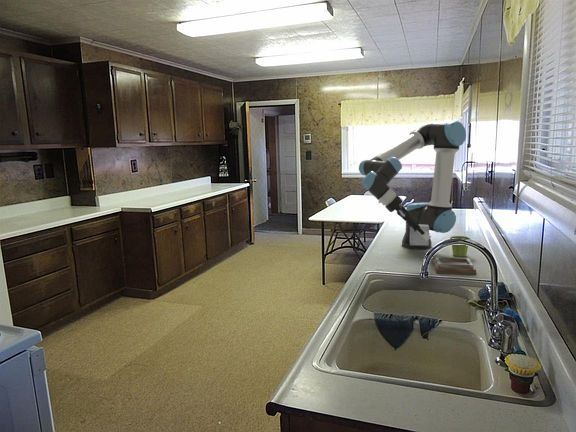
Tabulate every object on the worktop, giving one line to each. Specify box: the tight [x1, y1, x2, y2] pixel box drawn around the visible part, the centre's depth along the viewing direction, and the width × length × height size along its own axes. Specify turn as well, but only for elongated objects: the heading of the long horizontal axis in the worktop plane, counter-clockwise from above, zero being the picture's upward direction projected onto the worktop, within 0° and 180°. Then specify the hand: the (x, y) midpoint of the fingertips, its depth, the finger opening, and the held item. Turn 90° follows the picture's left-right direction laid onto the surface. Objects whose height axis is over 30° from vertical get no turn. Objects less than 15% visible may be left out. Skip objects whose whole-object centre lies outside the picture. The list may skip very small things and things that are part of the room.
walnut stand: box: [432, 256, 477, 275], centre depth 188 cm, size 14×16×4 cm
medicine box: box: [410, 225, 430, 245], centre depth 188 cm, size 8×4×9 cm, turn 78°
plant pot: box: [449, 235, 472, 258], centre depth 206 cm, size 9×9×9 cm
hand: (428, 237), depth 188 cm, fingers closed on medicine box, 4 cm apart
